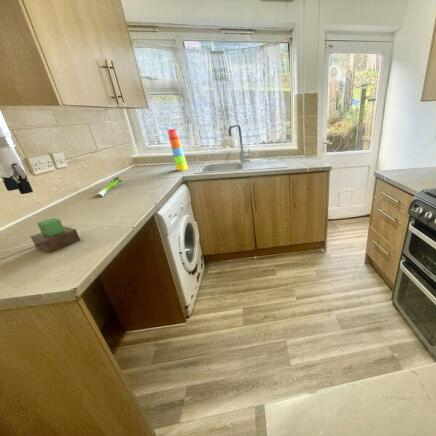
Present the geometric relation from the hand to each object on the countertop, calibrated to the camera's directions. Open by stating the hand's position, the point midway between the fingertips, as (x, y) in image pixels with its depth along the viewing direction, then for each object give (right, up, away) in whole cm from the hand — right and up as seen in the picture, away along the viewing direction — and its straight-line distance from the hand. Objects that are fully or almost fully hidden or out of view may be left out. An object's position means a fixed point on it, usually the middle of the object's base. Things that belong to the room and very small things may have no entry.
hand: (20, 191), depth 89 cm
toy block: (+7, -15, +6) cm, 18 cm away
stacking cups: (+2, +32, +127) cm, 131 cm away
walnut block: (+7, -20, +8) cm, 22 cm away
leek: (-23, +9, +76) cm, 80 cm away
